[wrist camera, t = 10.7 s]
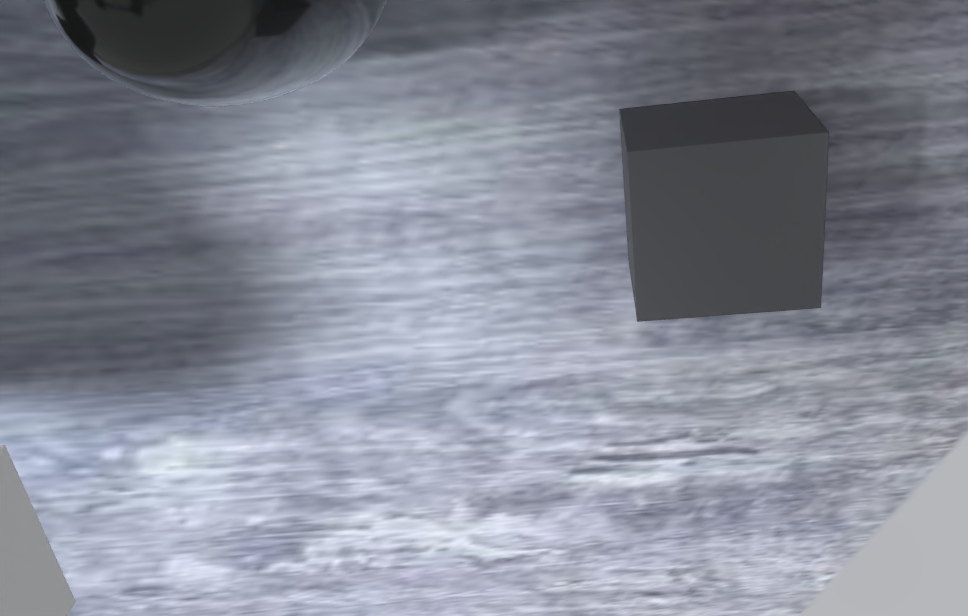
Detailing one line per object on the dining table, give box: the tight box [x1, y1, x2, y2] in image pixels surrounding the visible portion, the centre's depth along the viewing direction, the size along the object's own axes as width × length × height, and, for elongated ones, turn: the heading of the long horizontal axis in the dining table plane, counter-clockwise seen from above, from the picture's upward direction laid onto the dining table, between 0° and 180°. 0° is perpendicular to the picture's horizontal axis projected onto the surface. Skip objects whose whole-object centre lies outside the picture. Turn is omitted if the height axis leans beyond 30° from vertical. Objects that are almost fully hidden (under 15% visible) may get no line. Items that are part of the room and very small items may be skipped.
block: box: [619, 91, 829, 322], centre depth 37 cm, size 7×7×6 cm
